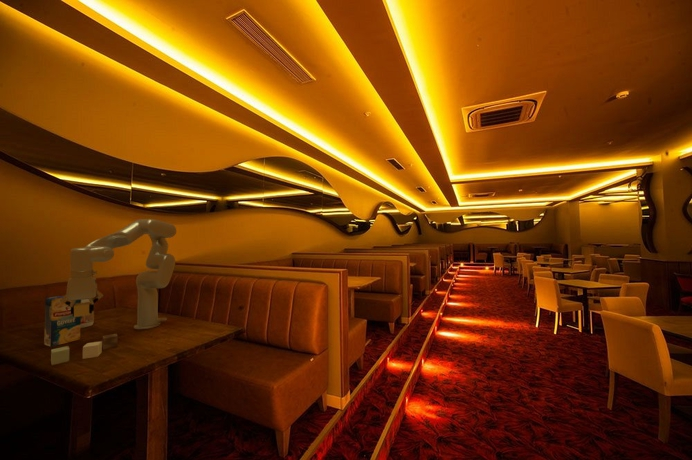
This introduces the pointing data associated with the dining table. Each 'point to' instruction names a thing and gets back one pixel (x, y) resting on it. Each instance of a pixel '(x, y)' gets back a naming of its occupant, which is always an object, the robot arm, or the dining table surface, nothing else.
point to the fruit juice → (87, 317)
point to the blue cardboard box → (60, 322)
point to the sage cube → (59, 355)
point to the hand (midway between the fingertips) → (82, 313)
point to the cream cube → (92, 349)
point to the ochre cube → (81, 309)
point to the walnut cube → (110, 341)
